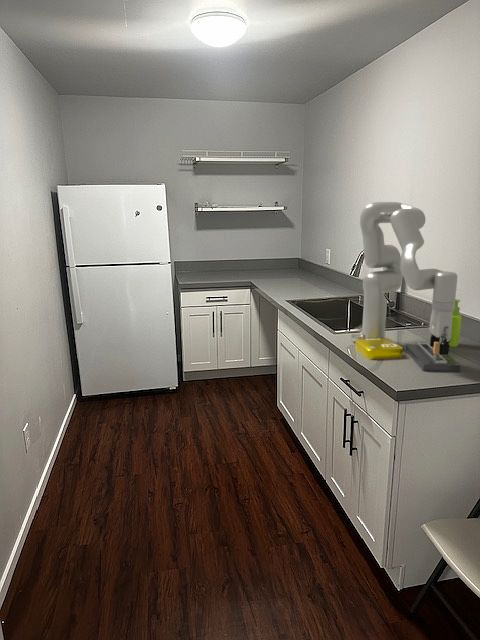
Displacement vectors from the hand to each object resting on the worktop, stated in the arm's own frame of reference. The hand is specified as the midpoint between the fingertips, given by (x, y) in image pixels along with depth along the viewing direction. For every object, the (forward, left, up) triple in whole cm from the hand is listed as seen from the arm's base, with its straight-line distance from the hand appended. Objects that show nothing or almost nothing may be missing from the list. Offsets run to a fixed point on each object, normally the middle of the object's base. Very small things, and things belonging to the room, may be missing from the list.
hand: (438, 350), depth 170 cm
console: (0, +7, -6) cm, 9 cm away
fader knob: (0, 0, -4) cm, 4 cm away
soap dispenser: (+15, +28, -7) cm, 32 cm away
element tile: (-19, +15, -7) cm, 25 cm away
